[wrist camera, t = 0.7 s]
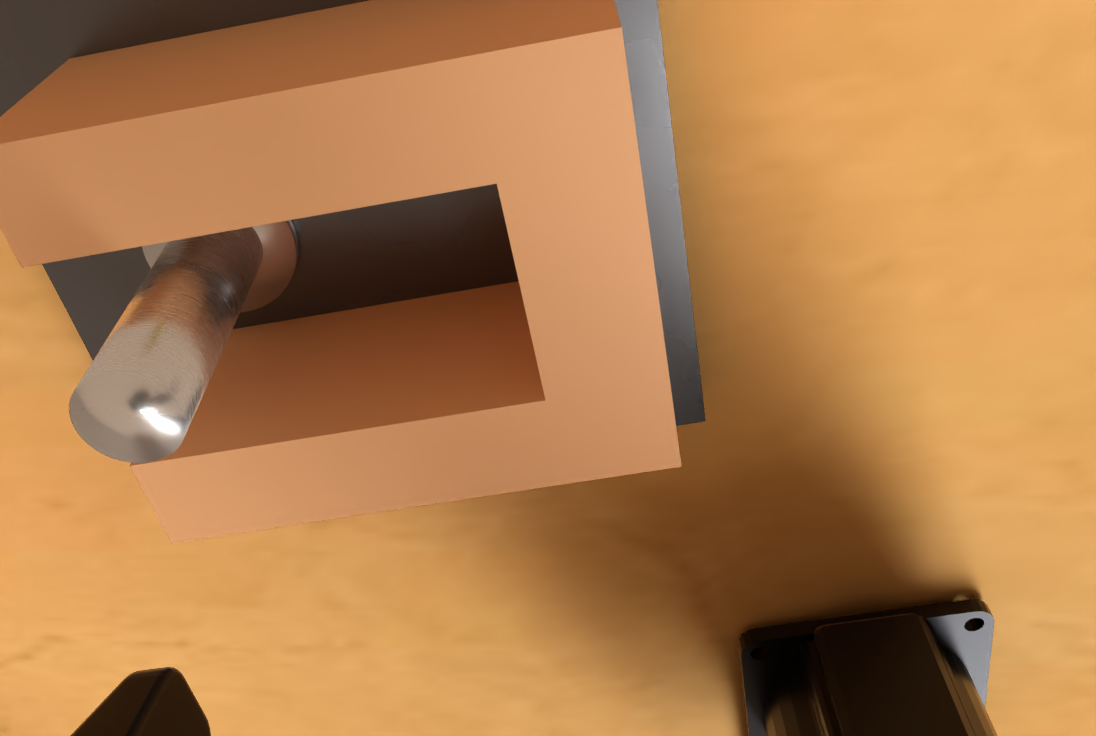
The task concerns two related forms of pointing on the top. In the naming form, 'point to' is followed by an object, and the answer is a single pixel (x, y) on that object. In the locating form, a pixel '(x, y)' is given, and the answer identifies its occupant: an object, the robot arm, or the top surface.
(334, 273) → the peg stand
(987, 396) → the top surface
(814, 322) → the top surface
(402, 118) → the c link
